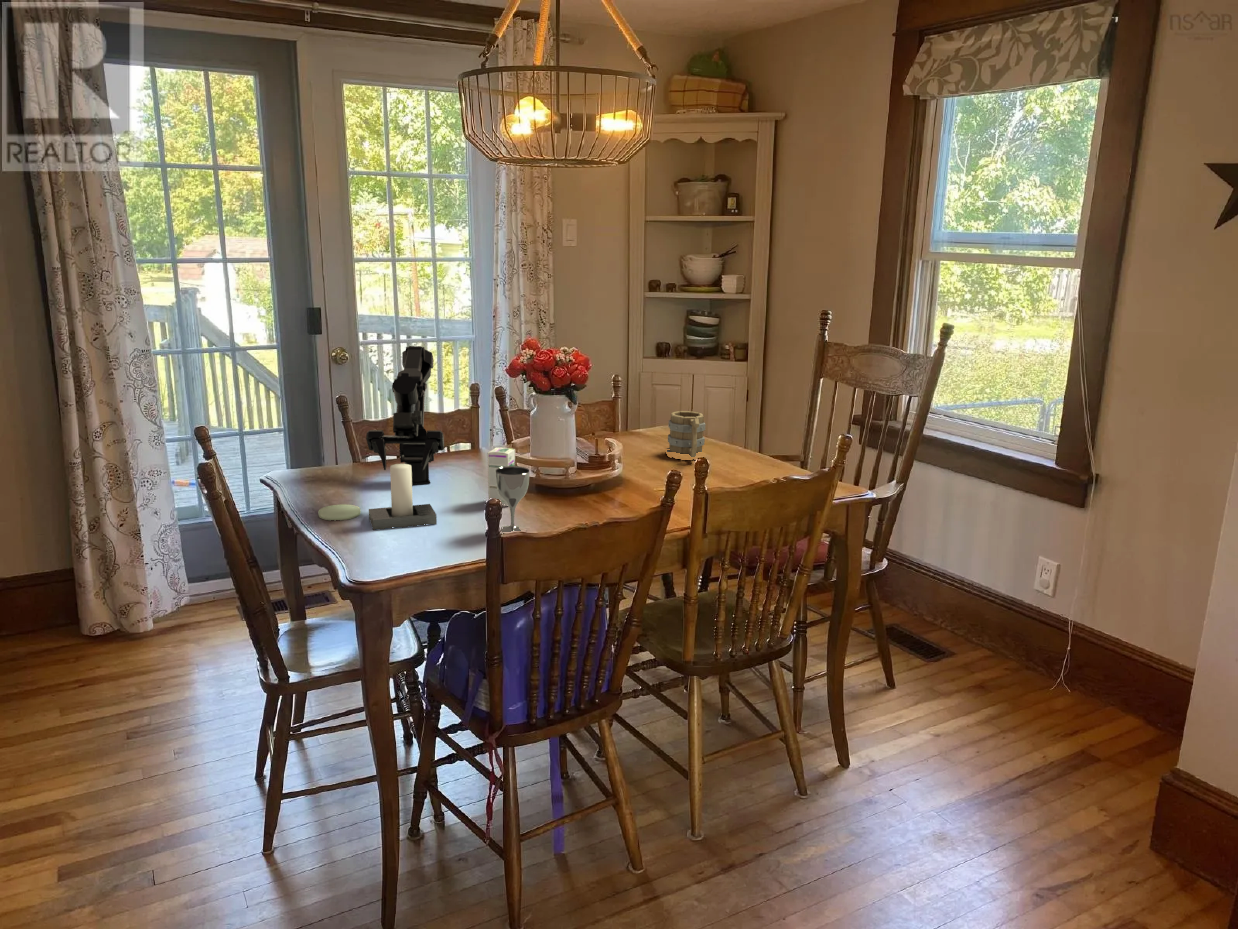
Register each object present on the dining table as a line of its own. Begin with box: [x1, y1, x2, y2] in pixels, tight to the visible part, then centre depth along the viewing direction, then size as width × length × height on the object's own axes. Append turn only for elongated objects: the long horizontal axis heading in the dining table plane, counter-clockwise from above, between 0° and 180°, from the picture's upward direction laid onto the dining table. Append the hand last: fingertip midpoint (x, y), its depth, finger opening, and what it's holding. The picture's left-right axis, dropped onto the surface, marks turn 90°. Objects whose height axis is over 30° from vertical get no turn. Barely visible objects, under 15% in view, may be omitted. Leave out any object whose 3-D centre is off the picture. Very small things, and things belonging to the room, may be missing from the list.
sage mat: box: [318, 504, 361, 522], centre depth 221 cm, size 10×10×1 cm
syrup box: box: [487, 447, 516, 507], centre depth 233 cm, size 6×6×14 cm
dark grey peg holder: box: [368, 503, 438, 531], centre depth 217 cm, size 15×9×2 cm, turn 112°
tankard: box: [666, 410, 706, 457], centre depth 284 cm, size 20×13×15 cm, turn 6°
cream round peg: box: [389, 463, 414, 517], centre depth 216 cm, size 5×5×14 cm
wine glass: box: [496, 465, 530, 532], centre depth 212 cm, size 8×8×15 cm
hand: (403, 469), depth 220 cm, fingers open, 9 cm apart
